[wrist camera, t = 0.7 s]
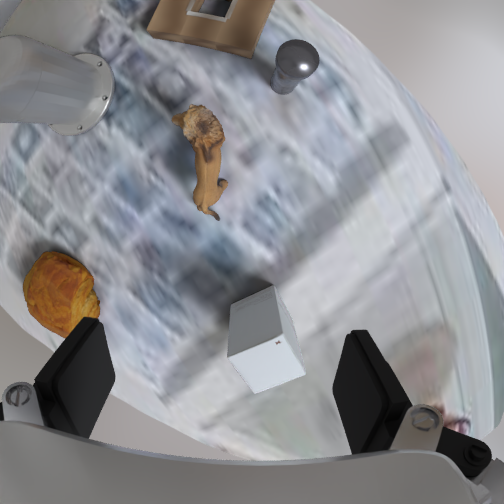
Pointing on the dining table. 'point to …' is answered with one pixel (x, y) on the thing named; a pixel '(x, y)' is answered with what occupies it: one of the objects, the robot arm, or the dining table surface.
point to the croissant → (60, 293)
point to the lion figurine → (204, 154)
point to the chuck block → (212, 25)
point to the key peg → (293, 65)
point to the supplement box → (264, 341)
